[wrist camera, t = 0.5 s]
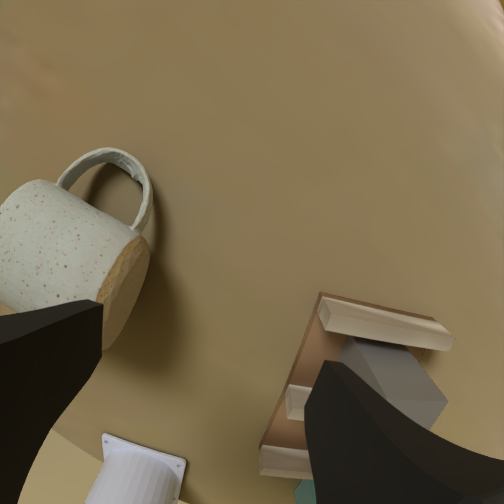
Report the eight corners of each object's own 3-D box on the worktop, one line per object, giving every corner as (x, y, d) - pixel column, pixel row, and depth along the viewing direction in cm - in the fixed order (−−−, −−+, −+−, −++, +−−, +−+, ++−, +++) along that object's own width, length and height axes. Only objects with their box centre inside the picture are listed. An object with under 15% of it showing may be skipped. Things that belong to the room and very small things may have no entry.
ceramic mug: (134, 327, 20) (84, 391, 12) (43, 275, 19) (-26, 312, 12) (191, 177, 18) (147, 172, 10) (83, 134, 17) (6, 117, 10)
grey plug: (377, 387, 20) (411, 454, 13) (327, 380, 19) (350, 455, 13) (400, 340, 19) (448, 401, 12) (349, 330, 19) (387, 398, 12)
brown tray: (356, 454, 22) (364, 480, 19) (259, 445, 22) (259, 474, 19) (432, 317, 19) (455, 337, 16) (319, 291, 19) (331, 313, 16)
